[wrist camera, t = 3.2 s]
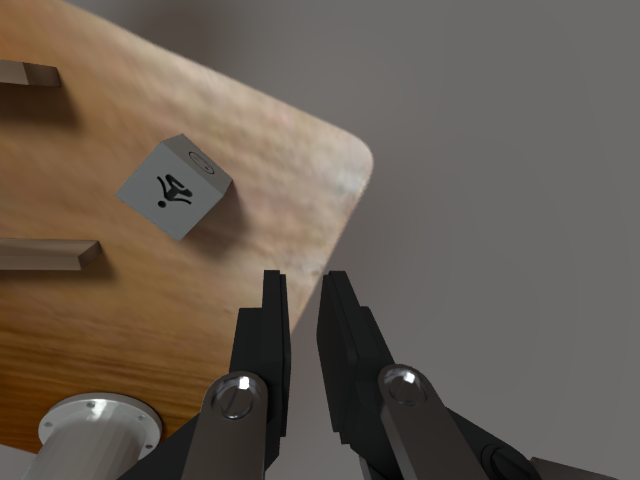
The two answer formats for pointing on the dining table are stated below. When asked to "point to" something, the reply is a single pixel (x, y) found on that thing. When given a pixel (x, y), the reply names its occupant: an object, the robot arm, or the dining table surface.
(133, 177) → the dice cube
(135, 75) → the dining table surface
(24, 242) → the box
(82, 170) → the dining table surface
